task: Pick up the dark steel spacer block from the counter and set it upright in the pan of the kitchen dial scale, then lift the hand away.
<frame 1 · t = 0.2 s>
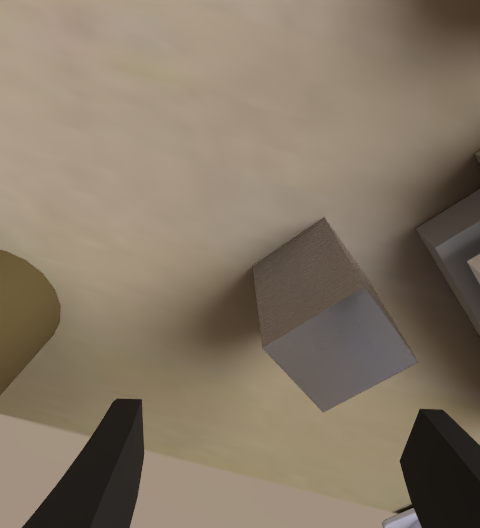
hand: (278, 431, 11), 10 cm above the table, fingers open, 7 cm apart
steel spacer block: (310, 272, 20), on the table
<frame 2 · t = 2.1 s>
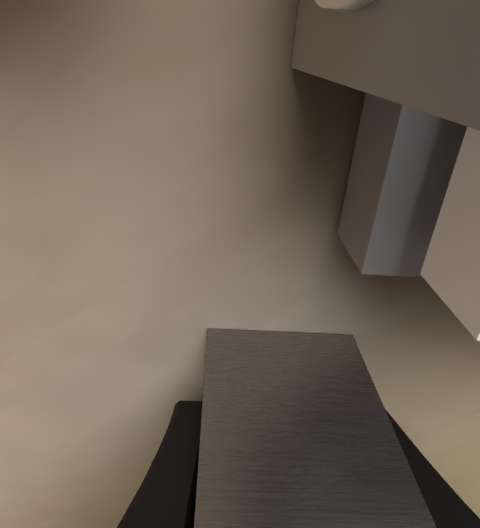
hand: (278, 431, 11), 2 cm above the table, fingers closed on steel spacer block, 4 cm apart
steel spacer block: (272, 386, 12), on the table, touching gripper
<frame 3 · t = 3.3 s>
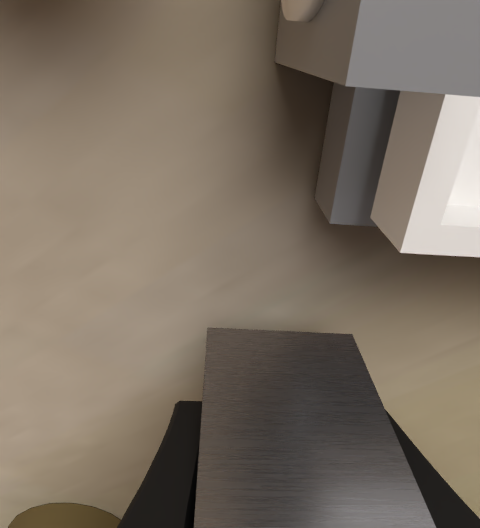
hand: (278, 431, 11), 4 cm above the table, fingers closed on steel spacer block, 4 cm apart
steel spacer block: (272, 385, 12), point 3 cm above the table, touching gripper
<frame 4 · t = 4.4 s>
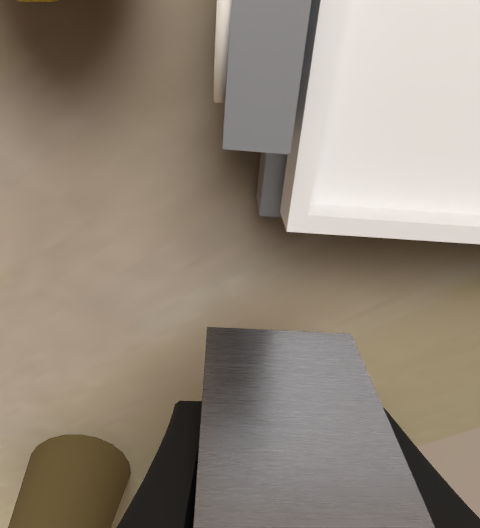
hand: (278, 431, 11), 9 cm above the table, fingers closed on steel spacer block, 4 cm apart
kitchen scale: (469, 25, 15), on the table
cork: (81, 465, 26), on the table
steel spacer block: (271, 384, 12), point 8 cm above the table, touching gripper
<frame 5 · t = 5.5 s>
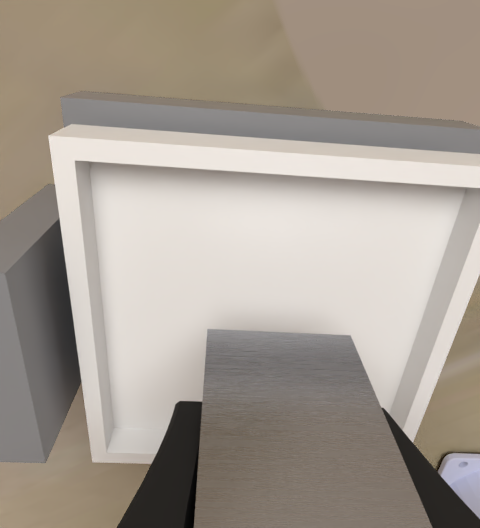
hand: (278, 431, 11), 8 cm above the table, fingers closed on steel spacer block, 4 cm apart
kitchen scale: (257, 274, 18), on the table
steel spacer block: (271, 385, 12), point 7 cm above the table, touching gripper
when the fingers open (7 cm above the table, at t = 6.5 s): steel spacer block drops 2 cm, resting on kitchen scale.
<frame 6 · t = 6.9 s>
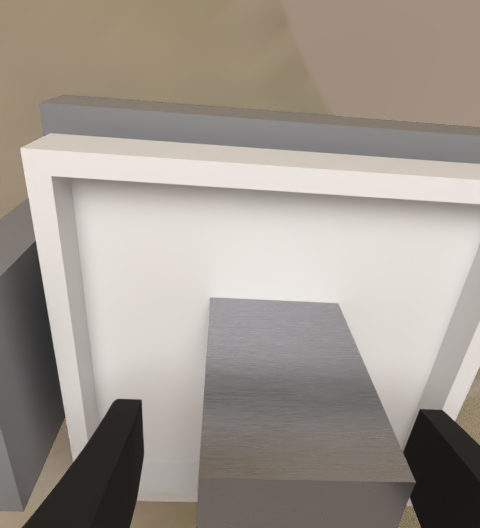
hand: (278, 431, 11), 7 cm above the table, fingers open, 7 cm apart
kitchen scale: (259, 292, 17), on the table
steel spacer block: (268, 350, 14), point 4 cm above the table, touching kitchen scale
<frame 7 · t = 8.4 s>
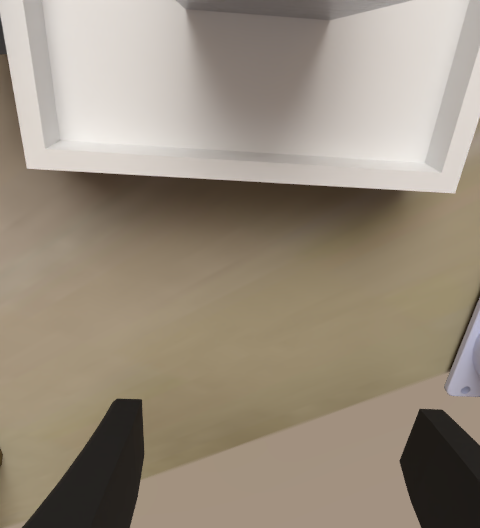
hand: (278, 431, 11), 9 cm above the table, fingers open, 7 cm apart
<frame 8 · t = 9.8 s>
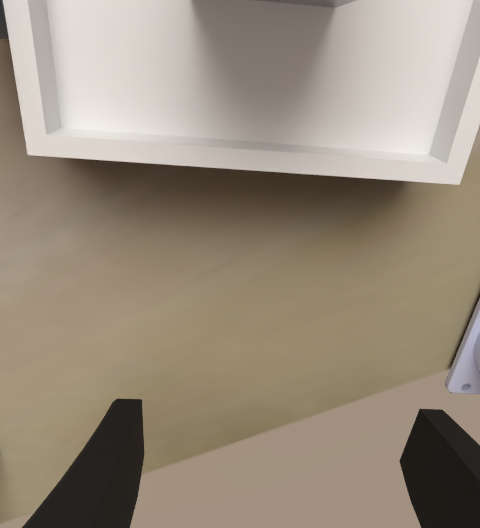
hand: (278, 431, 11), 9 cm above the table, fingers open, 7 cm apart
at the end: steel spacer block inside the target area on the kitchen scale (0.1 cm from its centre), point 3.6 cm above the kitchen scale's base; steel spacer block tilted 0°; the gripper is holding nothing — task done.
